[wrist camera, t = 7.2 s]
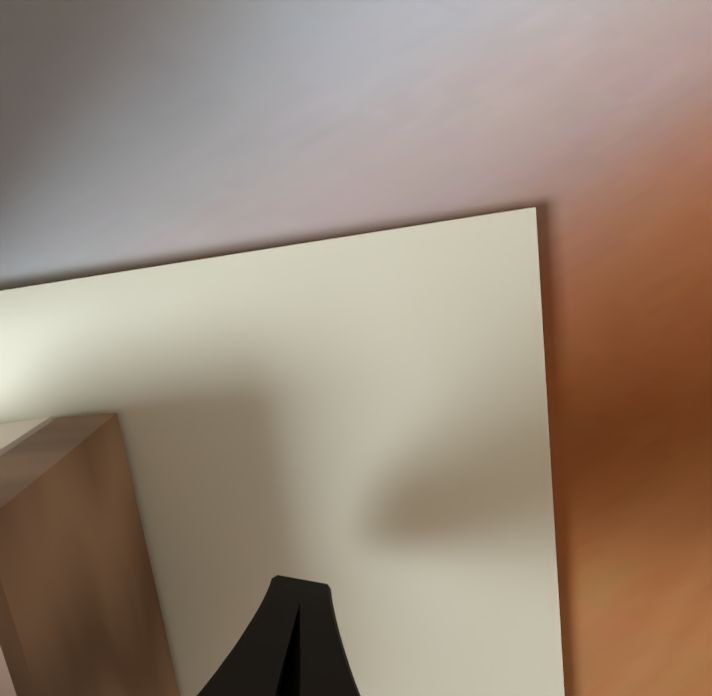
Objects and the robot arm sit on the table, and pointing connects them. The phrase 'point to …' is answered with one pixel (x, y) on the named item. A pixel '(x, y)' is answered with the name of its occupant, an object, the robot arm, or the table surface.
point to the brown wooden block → (77, 569)
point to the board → (328, 442)
